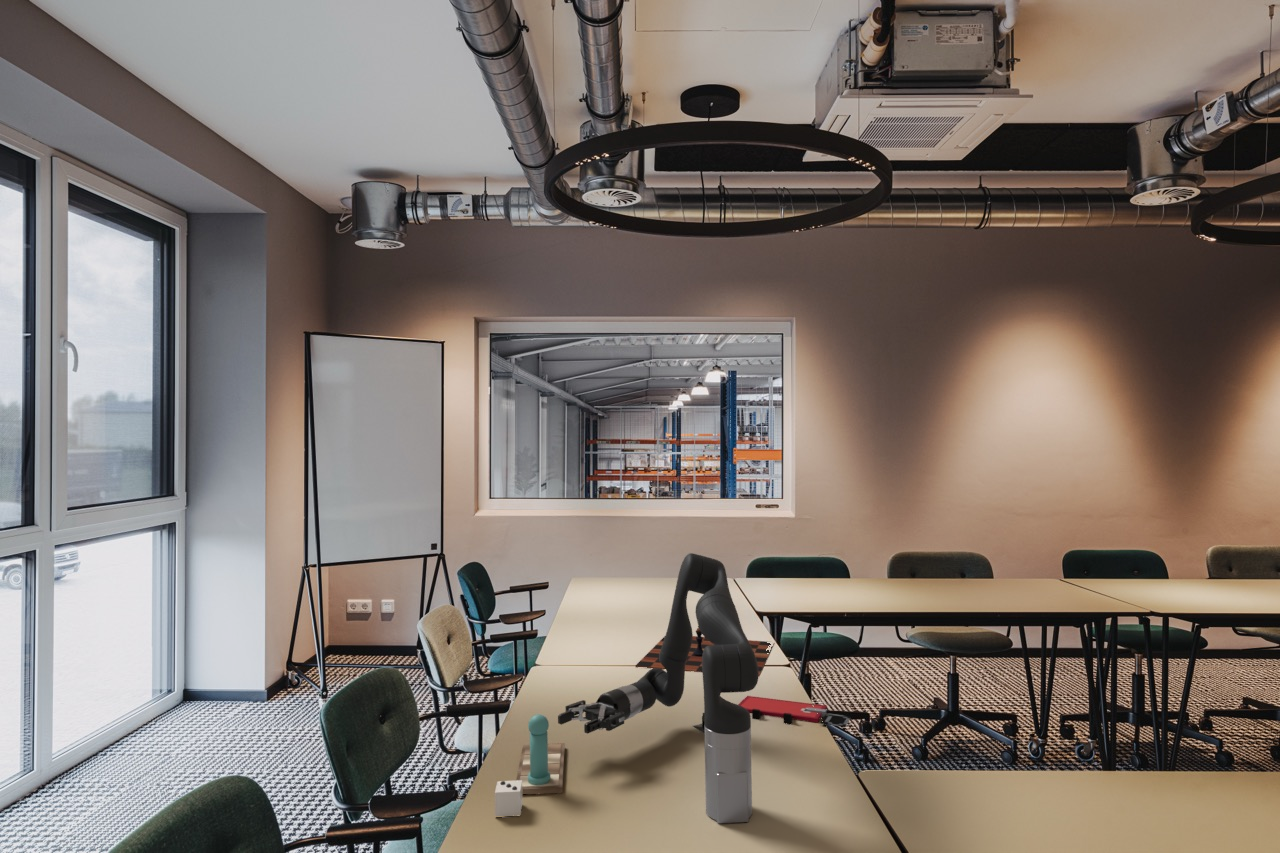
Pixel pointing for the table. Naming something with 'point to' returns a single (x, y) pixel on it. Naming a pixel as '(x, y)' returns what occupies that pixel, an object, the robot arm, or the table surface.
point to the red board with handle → (792, 711)
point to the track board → (553, 767)
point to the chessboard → (697, 651)
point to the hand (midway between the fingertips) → (572, 724)
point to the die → (508, 798)
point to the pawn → (538, 750)
